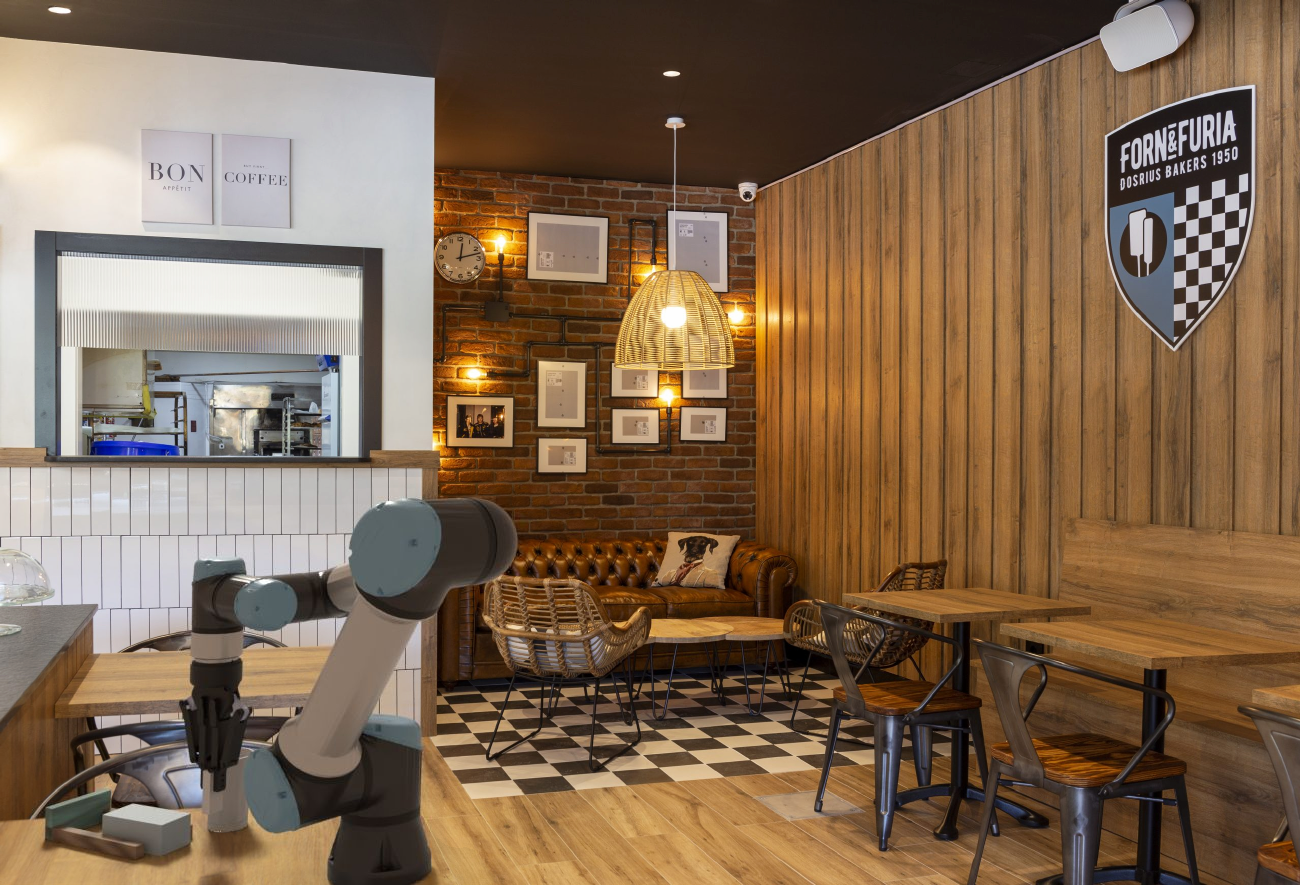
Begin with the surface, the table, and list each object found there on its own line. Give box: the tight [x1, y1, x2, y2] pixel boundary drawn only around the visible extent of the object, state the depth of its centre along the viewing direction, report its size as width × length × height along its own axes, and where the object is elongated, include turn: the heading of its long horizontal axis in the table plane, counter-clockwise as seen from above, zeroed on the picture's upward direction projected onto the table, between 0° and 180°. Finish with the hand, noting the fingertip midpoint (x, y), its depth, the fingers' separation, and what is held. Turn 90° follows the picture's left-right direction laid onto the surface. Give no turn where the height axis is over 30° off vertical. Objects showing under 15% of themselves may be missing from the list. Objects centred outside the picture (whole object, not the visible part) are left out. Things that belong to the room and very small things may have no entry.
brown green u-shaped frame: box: [44, 788, 194, 861], centre depth 175 cm, size 20×11×5 cm, turn 66°
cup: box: [206, 747, 255, 833], centre depth 182 cm, size 8×8×12 cm
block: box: [101, 803, 192, 857], centre depth 173 cm, size 12×6×5 cm, turn 69°
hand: (212, 811), depth 168 cm, fingers closed
